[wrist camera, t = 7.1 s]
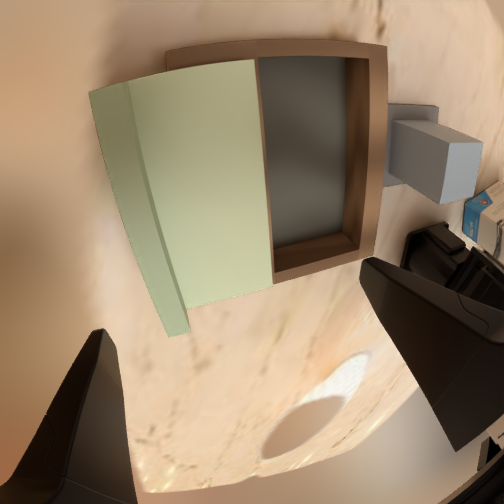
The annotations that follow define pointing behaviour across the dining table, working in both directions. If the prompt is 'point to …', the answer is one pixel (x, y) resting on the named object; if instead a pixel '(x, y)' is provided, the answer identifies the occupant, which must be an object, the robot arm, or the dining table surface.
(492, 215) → the ink box
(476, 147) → the block
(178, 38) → the dining table surface
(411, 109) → the mat
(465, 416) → the robot arm
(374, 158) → the brown hollow rectangular piece
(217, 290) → the cover
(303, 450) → the dining table surface
